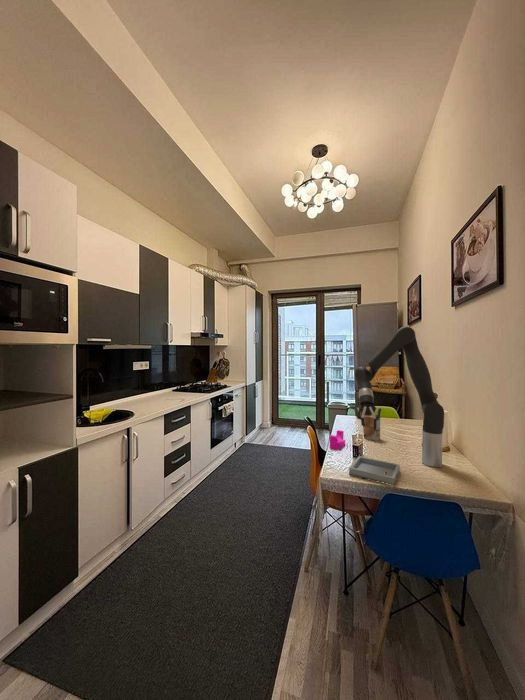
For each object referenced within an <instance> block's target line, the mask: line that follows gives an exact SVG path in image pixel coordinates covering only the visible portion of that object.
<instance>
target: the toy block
mask: <svg viewBox="0 0 525 700" xmlns="http://www.w3.org/2000/svg"><path fill="white" fill-rule="evenodd" d="M345 446H346V440H345V439H344V430H341V429H340V430H339V429H337V430H336V433H335V434H334V435H332V434H330V435H329V448H330V449H331V450H332V449H333V450H336V451H340V450H342V449H343V448H344V447H345Z"/></svg>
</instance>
